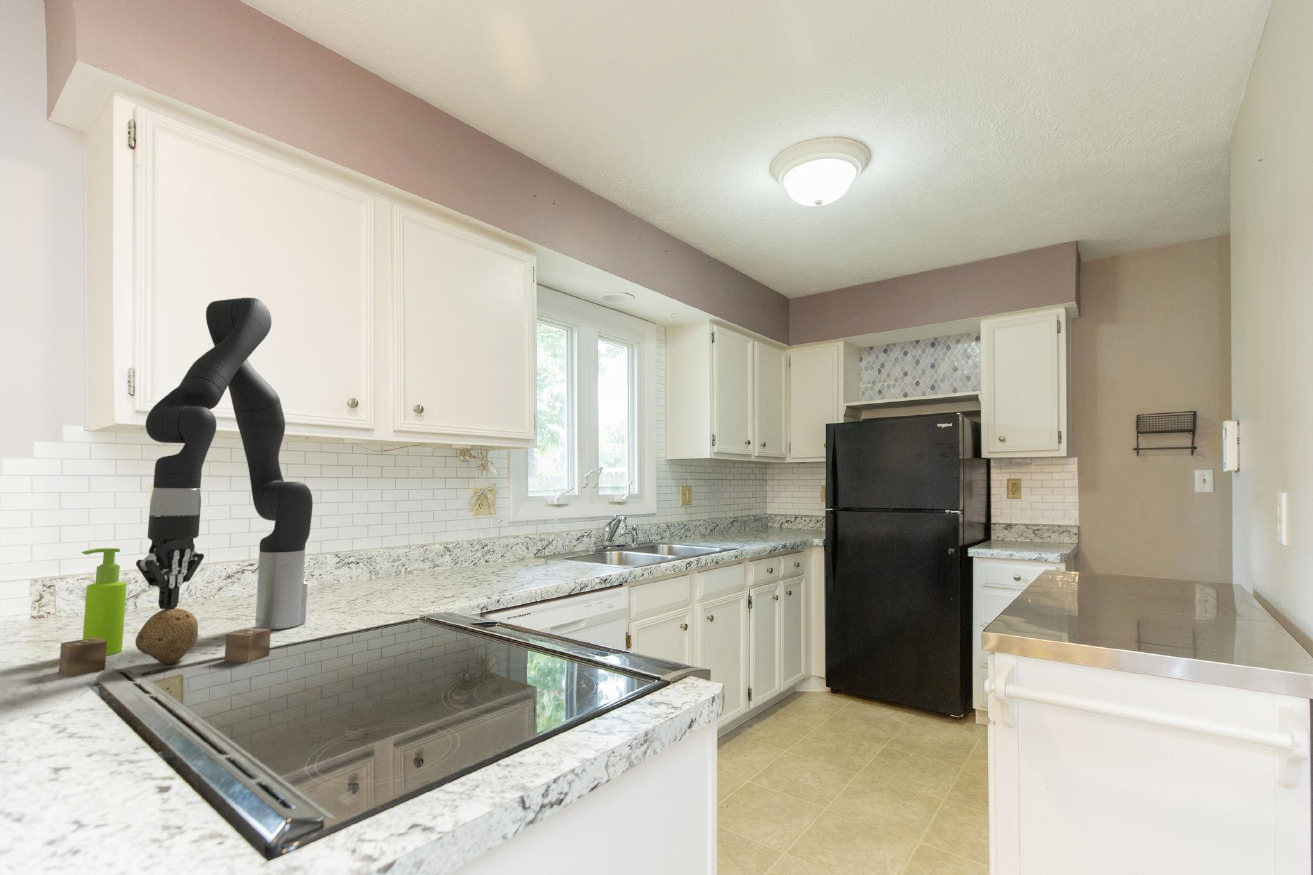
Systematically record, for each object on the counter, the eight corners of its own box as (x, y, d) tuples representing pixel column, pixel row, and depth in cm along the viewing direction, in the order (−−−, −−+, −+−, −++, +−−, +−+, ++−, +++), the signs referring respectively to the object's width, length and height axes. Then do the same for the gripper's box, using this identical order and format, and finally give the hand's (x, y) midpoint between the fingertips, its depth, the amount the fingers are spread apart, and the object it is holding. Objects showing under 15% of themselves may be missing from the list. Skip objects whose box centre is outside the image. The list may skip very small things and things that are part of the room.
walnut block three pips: (96, 665, 114) (98, 636, 114) (104, 670, 111) (106, 640, 111) (58, 672, 110) (61, 641, 110) (66, 677, 107) (69, 646, 107)
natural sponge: (123, 672, 110) (127, 614, 110) (148, 659, 118) (152, 604, 119) (184, 669, 112) (188, 611, 113) (205, 656, 121) (208, 602, 121)
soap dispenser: (70, 654, 121) (79, 548, 122) (117, 647, 126) (124, 546, 128) (77, 660, 117) (86, 550, 119) (125, 652, 122) (132, 548, 124)
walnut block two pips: (246, 654, 122) (248, 627, 123) (269, 655, 121) (270, 628, 122) (224, 661, 117) (226, 633, 118) (247, 663, 116) (249, 634, 117)
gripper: (185, 511, 124) (178, 601, 122) (123, 513, 111) (115, 614, 109) (221, 512, 123) (215, 602, 122) (164, 514, 110) (156, 616, 109)
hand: (168, 608), depth 116 cm, fingers closed
